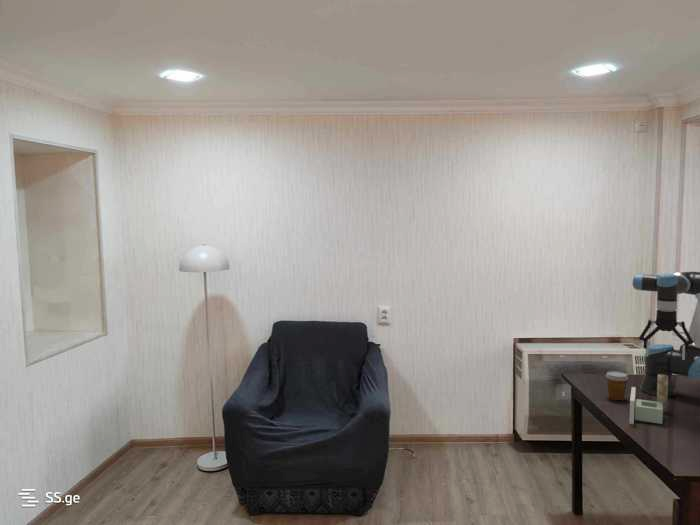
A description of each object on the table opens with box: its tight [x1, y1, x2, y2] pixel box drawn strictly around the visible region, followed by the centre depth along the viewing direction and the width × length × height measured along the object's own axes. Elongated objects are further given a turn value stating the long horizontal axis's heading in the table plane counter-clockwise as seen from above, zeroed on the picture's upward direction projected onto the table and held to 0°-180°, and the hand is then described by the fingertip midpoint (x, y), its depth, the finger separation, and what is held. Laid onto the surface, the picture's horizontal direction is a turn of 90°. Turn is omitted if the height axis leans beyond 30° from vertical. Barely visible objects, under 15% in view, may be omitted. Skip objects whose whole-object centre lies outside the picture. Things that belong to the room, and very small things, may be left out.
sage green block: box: [634, 398, 664, 425], centre depth 224 cm, size 10×10×6 cm
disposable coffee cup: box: [605, 370, 629, 401], centre depth 249 cm, size 10×10×12 cm
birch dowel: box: [656, 374, 669, 413], centre depth 232 cm, size 4×4×16 cm
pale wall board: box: [628, 386, 637, 425], centre depth 227 cm, size 2×20×10 cm, turn 150°
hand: (665, 357), depth 230 cm, fingers open, 13 cm apart
